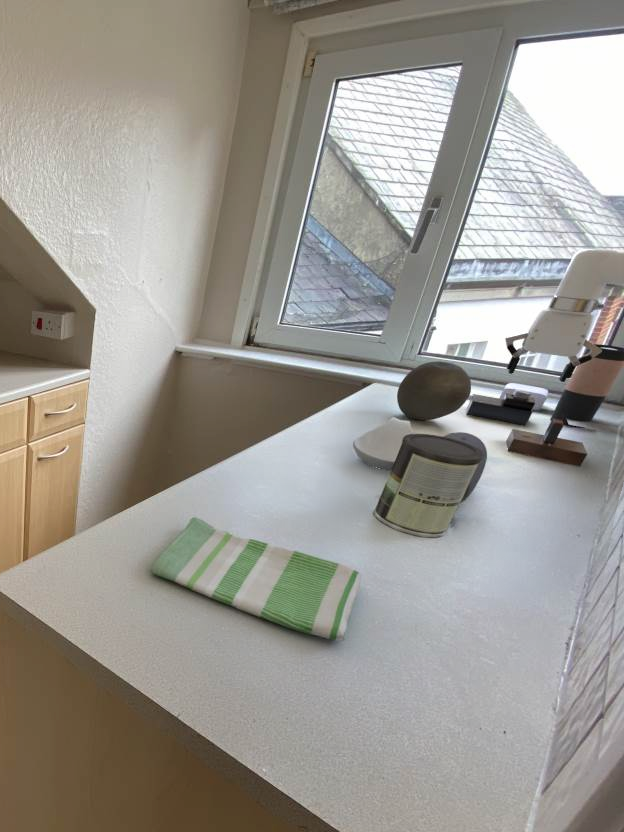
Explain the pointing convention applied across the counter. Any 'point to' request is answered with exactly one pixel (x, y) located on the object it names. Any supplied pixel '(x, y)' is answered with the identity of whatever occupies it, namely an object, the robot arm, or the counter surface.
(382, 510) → the coffee can
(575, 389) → the travel mug
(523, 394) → the toaster lever
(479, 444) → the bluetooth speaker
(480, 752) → the counter surface
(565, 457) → the brown wooden block
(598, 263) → the robot arm
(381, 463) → the spoon rest
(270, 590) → the dish towel
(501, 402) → the toaster
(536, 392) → the charger
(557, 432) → the browning knob
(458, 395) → the dark brown rounded piece
